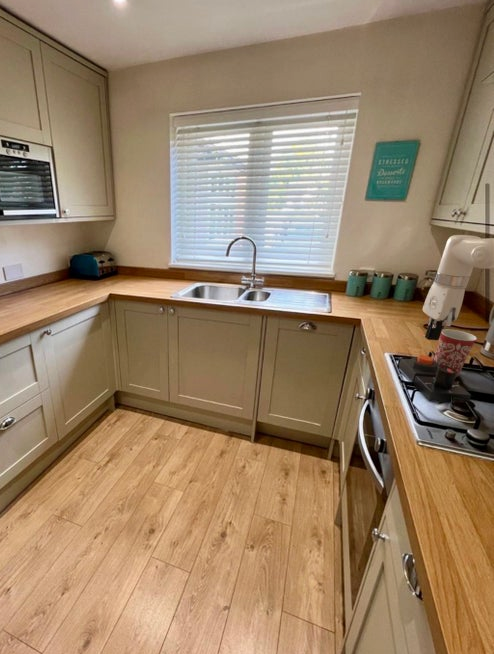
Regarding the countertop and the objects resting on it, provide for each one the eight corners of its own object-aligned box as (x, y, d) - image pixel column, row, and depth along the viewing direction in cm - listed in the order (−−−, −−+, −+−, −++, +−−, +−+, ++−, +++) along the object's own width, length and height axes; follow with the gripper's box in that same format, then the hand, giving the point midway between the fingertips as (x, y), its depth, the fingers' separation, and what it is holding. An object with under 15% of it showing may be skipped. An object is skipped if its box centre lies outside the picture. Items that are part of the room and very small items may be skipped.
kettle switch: (428, 360, 106) (429, 355, 105) (434, 366, 102) (436, 361, 102) (414, 359, 107) (416, 354, 106) (420, 365, 103) (422, 360, 102)
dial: (429, 380, 97) (435, 364, 95) (446, 381, 97) (452, 365, 95) (437, 388, 93) (443, 371, 91) (455, 389, 93) (461, 373, 91)
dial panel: (448, 387, 100) (452, 378, 98) (467, 404, 91) (471, 394, 90) (413, 384, 101) (415, 375, 100) (428, 400, 93) (431, 391, 92)
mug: (466, 381, 103) (481, 342, 98) (431, 375, 106) (444, 336, 101) (455, 364, 113) (468, 328, 108) (424, 359, 117) (435, 324, 112)
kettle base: (427, 369, 110) (431, 355, 108) (444, 384, 101) (449, 370, 99) (398, 367, 111) (402, 353, 110) (412, 382, 102) (417, 367, 100)
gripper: (423, 274, 102) (407, 329, 109) (452, 286, 88) (430, 348, 95) (450, 275, 101) (431, 330, 108) (483, 287, 87) (459, 350, 94)
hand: (431, 338), depth 102 cm, fingers closed
